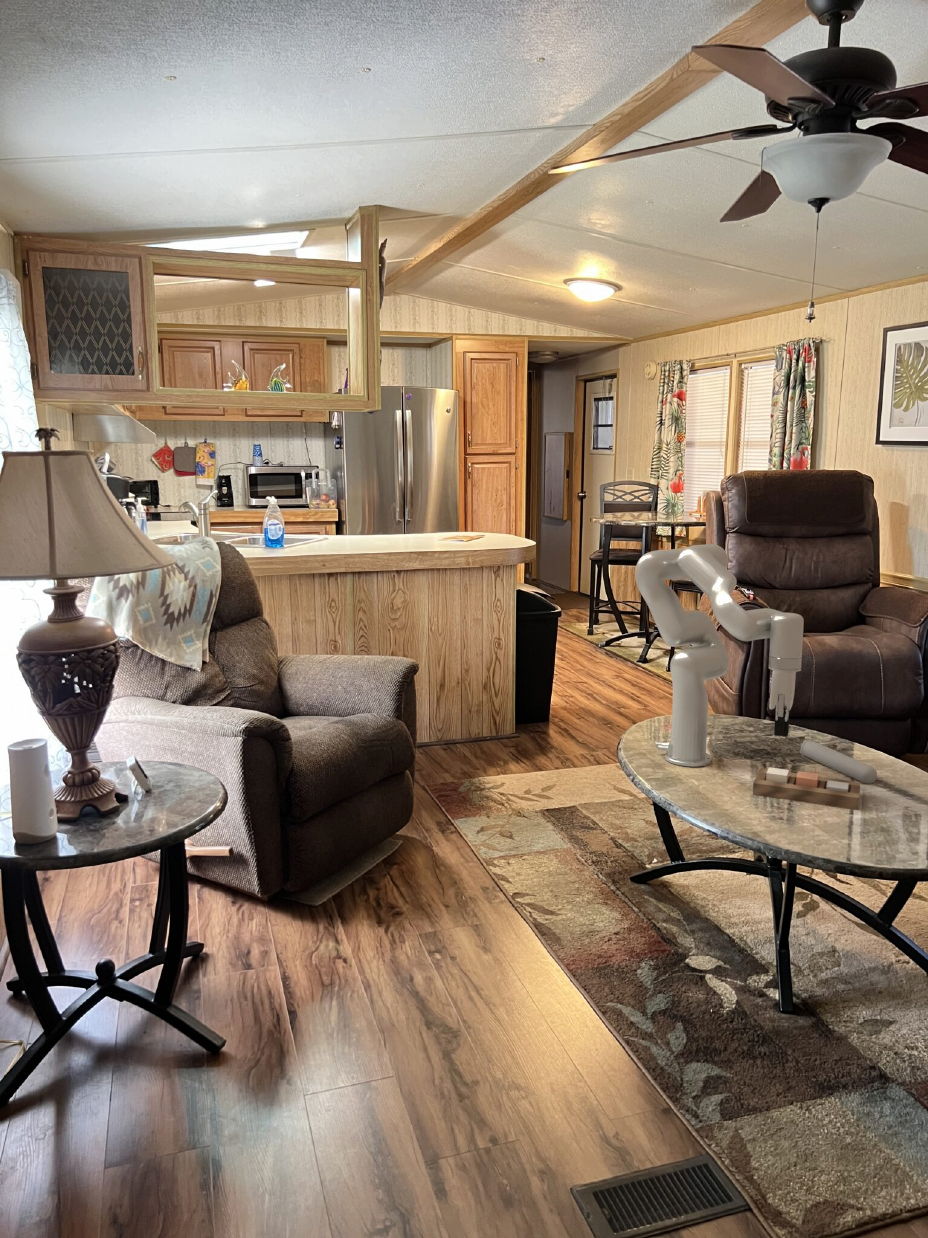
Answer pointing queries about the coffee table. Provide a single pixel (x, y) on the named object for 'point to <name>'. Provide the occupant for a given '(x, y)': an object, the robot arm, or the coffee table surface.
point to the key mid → (807, 779)
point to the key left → (777, 775)
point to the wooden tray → (808, 791)
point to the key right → (837, 786)
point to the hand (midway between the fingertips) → (781, 735)
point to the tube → (838, 761)
